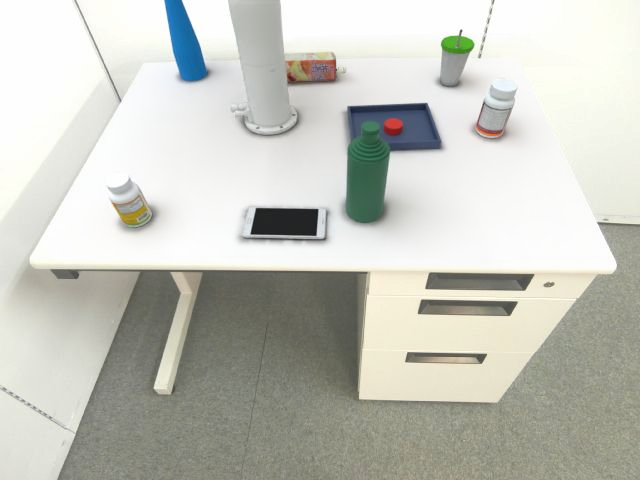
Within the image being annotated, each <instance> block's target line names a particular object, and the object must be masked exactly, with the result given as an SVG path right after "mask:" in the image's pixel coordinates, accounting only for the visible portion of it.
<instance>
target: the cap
mask: <svg viewBox="0 0 640 480" xmlns="http://www.w3.org/2000/svg"><path fill="white" fill-rule="evenodd" d="M402 125H403V123H402V121H400V120H399V119H394V118H392V119H388V120H386V121H385V123H384V132H385V133H386V134H388V135H398V134H400V133H401V132H402Z"/></svg>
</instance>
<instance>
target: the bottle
mask: <svg viewBox="0 0 640 480" xmlns="http://www.w3.org/2000/svg"><path fill="white" fill-rule="evenodd" d="M163 1H164V7H165V13H166V19H167V25H168V30H169V37H170V42H171V49H172V54H173V56H174V59H175V63H176V66H177V69H178V72H179V73H178V74H179V75H180V79H182V80H183V81H185V82H195V81H200V80H202V79H204V78H206V76H207V75H208V71H207V66H206V62H205V59H204V55H203V51H202V47H201V44H200V42H199V39H198V37H197V34H196V32H195V29H194V27H193V24H192V21H191V20H190V17H189V14H188V12H187V9H186V7H185V4H184V2H183V0H163Z"/></svg>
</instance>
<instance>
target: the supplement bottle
mask: <svg viewBox="0 0 640 480" xmlns="http://www.w3.org/2000/svg"><path fill="white" fill-rule="evenodd" d="M105 186H106V187H107V189H108V192H107V196H108V199H109V201H110V203H111V204H112V206H113V208H114V210H115V211H116V213H117V214H118V216H119V218H120V219H121V221H122V222H123V224H124V225H125V226H126V227H129V228H138V227H142V226H144V225H146V224H147V223H148V222H150V220H151V218H152V215H153V213H152V209H151V207H150V206H149V203H148V201H147V199H146V197H145V195H144V194H143V191H142V190H141V188H140V186H139V184H138V183H137V182H135V181H133V180H132V179H131V177H130V175H129V174H128V173H127V172H124V171H120V172H119V171H118V172H115V173H112V174H110V175H109V176H108V177H107V178H106V179H105Z"/></svg>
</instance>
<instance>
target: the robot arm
mask: <svg viewBox="0 0 640 480" xmlns="http://www.w3.org/2000/svg"><path fill="white" fill-rule="evenodd" d="M227 3H228V9H229V16H230V19H231V24H232V28H233V32H234V37H235V42H236V48H237V52H238V56H239V57H238V58H239V61H240V67H241V72H242V77H243V83H244V89H245V93H246V94H245V95H246V100H247V101H244V102H243V103H230V111H231V113H234V117H235V118H240V117H244V123H245V126H246V128H247V129H248V130H249V131H251V132H253V133H254V134H258V135H265V136H269V135H270V136H272V135H278V134H283V133H285V132H287V131H289V130H290V129H292V128H293V127H295V125H296V124H297V122H298V112H297V109H295V107H293V106H292V105H291V104H290V94H289V93H290V92H289V84H288V83H289V82H287V73H286V63H285V53H286V52H285V43H284V35H283V20H282V19H283V18H282V4H281V0H227Z"/></svg>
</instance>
